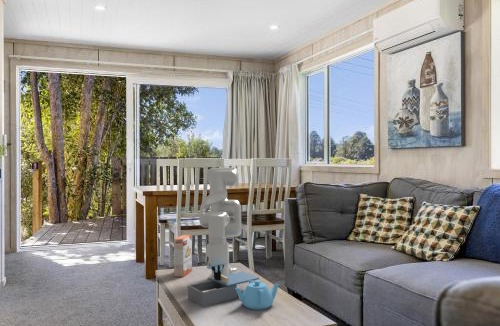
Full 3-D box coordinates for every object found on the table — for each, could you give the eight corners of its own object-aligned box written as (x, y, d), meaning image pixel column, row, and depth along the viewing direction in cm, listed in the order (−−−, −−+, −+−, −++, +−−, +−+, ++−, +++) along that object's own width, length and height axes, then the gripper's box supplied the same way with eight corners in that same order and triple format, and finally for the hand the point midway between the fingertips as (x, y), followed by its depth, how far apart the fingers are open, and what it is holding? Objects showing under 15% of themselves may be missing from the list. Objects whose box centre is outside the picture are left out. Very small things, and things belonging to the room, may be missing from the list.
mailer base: (220, 290, 204) (220, 278, 204) (236, 298, 192) (236, 285, 192) (187, 298, 193) (187, 285, 193) (203, 306, 182) (202, 293, 182)
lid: (242, 272, 212) (241, 266, 211) (259, 279, 200) (259, 272, 200) (211, 279, 201) (211, 272, 201) (228, 286, 189) (228, 279, 189)
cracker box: (184, 277, 227) (183, 239, 227) (173, 276, 229) (173, 239, 228) (192, 270, 241) (192, 234, 241) (182, 270, 242) (182, 234, 242)
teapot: (233, 307, 180) (232, 283, 180) (250, 297, 193) (249, 274, 193) (264, 313, 173) (264, 288, 172) (280, 302, 186) (279, 278, 186)
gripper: (225, 237, 202) (226, 275, 202) (198, 241, 193) (199, 280, 193) (234, 239, 196) (235, 278, 196) (207, 244, 187) (207, 284, 187)
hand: (217, 279), depth 194 cm, fingers closed
